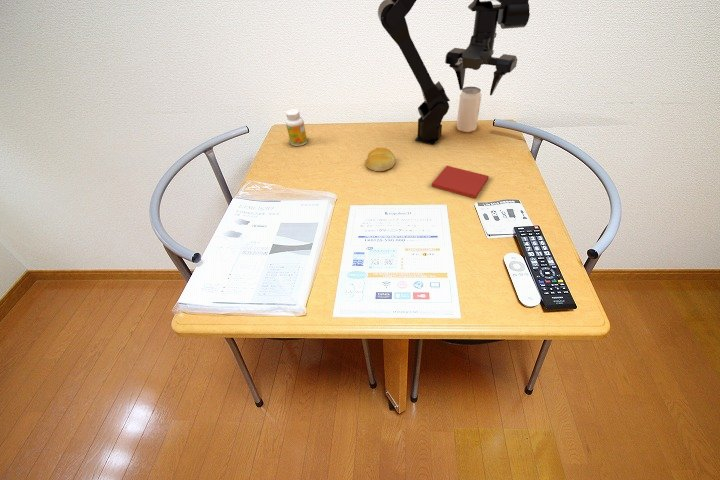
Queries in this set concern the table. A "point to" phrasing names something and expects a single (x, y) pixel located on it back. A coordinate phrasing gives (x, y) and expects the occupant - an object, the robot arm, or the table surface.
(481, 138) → the table surface
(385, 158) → the bread roll
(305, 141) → the supplement bottle
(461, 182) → the pad
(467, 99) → the can
